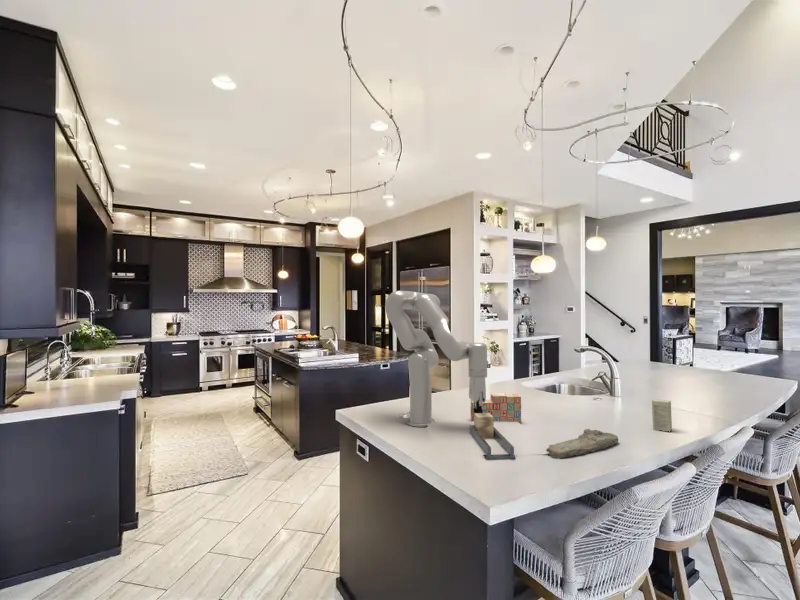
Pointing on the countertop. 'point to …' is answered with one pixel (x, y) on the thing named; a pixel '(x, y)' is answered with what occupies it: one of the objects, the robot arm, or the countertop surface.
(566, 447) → the long grey stone
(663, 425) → the skincare box
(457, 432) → the countertop surface
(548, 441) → the countertop surface
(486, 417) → the block
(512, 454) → the chute
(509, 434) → the countertop surface
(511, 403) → the stack of blocks
